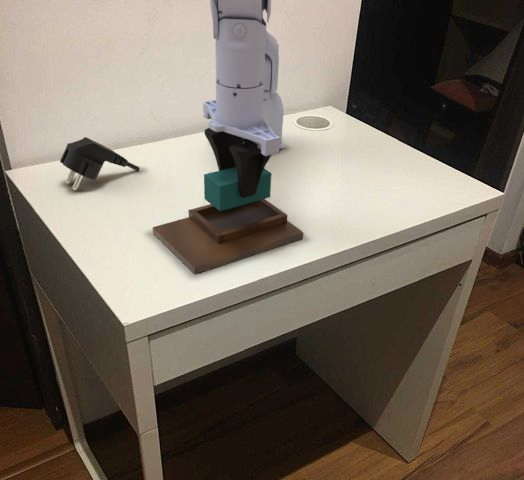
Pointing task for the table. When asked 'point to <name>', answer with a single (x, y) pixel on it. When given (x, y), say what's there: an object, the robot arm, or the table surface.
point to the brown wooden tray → (226, 234)
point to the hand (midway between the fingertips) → (238, 188)
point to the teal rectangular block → (232, 189)
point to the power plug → (89, 160)
